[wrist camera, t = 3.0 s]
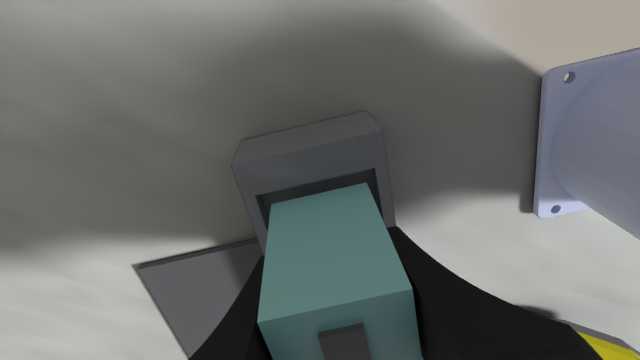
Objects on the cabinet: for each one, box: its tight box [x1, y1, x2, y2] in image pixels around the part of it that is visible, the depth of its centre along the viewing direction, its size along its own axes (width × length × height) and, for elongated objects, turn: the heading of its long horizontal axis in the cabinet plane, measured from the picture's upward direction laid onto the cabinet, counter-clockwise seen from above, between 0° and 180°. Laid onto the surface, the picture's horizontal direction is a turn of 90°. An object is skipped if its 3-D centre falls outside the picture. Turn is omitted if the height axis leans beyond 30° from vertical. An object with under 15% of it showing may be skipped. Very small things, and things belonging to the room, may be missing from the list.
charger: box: [257, 182, 422, 360], centre depth 12 cm, size 4×4×6 cm
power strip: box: [231, 111, 396, 255], centre depth 18 cm, size 16×6×4 cm, turn 13°
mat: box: [137, 238, 264, 358], centre depth 20 cm, size 7×9×1 cm
